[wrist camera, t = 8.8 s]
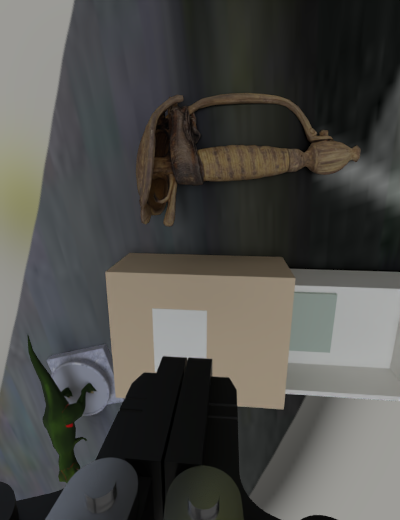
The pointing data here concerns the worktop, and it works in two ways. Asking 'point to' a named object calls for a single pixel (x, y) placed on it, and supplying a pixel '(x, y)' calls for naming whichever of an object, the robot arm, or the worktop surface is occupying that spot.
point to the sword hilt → (219, 153)
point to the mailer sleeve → (204, 319)
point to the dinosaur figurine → (74, 396)
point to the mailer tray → (345, 334)
